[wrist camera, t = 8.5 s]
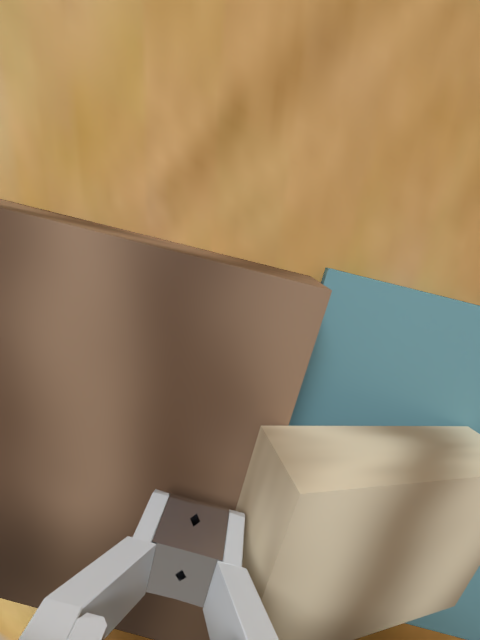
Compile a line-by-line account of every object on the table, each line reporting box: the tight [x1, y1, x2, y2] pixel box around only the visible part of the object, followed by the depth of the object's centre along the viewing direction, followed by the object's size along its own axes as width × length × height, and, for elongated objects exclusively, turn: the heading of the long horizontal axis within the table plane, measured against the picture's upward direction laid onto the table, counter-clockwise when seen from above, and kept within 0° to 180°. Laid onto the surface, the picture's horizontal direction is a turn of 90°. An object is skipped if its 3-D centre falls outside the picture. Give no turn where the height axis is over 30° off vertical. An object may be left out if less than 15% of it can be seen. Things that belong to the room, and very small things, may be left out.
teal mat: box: [288, 268, 480, 640], centre depth 14 cm, size 16×17×1 cm
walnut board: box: [0, 199, 332, 640], centre depth 12 cm, size 20×16×4 cm
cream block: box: [235, 426, 480, 640], centre depth 11 cm, size 10×7×2 cm
